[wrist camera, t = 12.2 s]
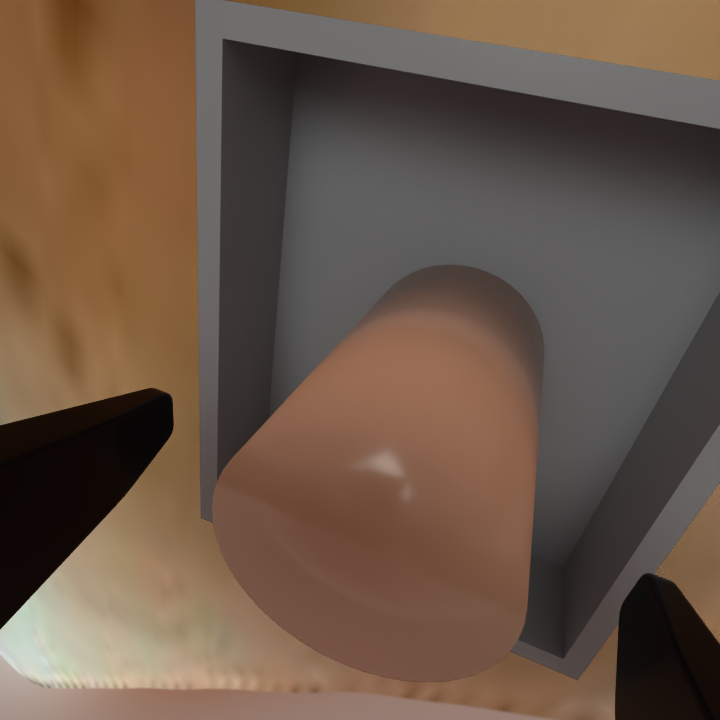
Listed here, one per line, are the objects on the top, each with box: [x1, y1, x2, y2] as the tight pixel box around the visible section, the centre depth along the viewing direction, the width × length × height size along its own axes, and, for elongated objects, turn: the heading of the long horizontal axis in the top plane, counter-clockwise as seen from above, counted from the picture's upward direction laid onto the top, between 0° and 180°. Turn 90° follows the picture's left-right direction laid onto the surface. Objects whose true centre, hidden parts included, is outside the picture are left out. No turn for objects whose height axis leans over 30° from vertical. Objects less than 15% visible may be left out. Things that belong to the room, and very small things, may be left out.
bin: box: [195, 0, 720, 680], centre depth 13 cm, size 12×14×4 cm
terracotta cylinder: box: [212, 264, 544, 682], centre depth 11 cm, size 5×5×8 cm
